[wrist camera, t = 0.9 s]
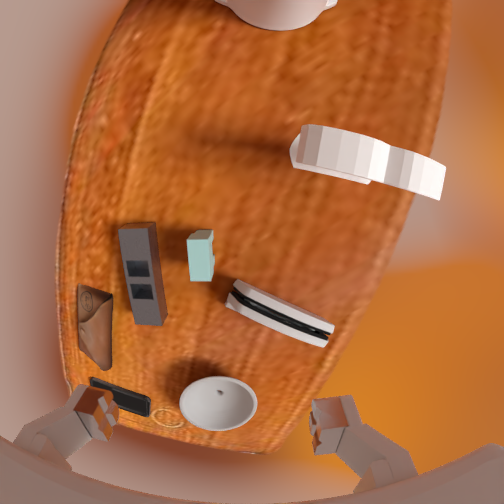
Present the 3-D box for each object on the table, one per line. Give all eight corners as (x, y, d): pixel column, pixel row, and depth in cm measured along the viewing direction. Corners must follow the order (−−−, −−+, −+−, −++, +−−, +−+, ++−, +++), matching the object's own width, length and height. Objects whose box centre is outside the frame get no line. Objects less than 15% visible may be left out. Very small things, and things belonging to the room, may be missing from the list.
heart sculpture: (385, 155, 38) (459, 163, 21) (379, 187, 40) (449, 212, 23) (285, 130, 37) (311, 112, 20) (279, 164, 39) (300, 172, 22)
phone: (149, 418, 56) (92, 397, 55) (150, 414, 57) (94, 394, 56) (150, 399, 53) (89, 377, 52) (151, 395, 55) (91, 374, 53)
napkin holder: (222, 303, 46) (226, 318, 36) (235, 276, 46) (242, 285, 36) (309, 340, 48) (331, 360, 39) (321, 316, 49) (346, 331, 39)
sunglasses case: (75, 280, 45) (75, 300, 40) (110, 281, 49) (114, 301, 44) (79, 351, 51) (81, 374, 46) (109, 351, 55) (114, 373, 49)
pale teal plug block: (195, 228, 42) (186, 239, 36) (214, 227, 42) (208, 239, 36) (198, 264, 44) (190, 281, 38) (216, 264, 44) (210, 281, 38)
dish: (236, 420, 56) (235, 437, 52) (174, 401, 54) (170, 418, 50) (271, 372, 51) (272, 390, 46) (199, 347, 49) (194, 365, 44)
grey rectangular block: (127, 223, 42) (117, 229, 38) (155, 222, 42) (147, 228, 38) (142, 313, 47) (135, 324, 43) (167, 314, 47) (162, 325, 43)
